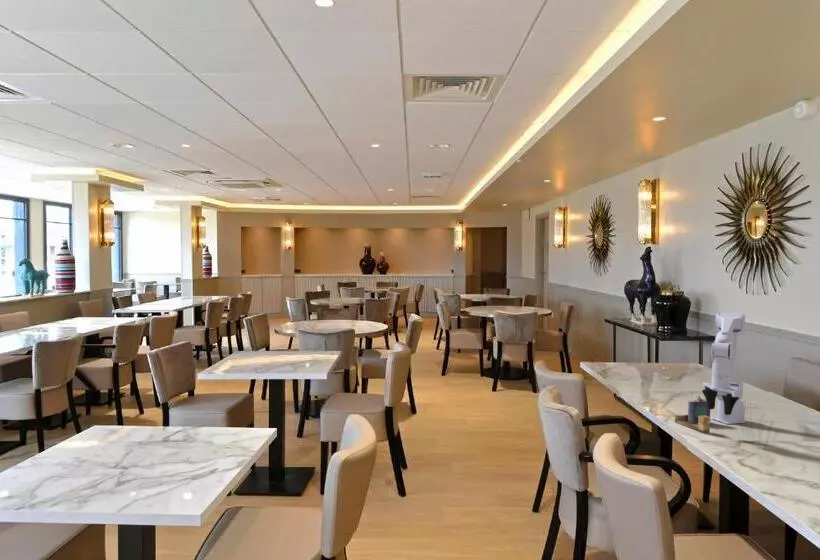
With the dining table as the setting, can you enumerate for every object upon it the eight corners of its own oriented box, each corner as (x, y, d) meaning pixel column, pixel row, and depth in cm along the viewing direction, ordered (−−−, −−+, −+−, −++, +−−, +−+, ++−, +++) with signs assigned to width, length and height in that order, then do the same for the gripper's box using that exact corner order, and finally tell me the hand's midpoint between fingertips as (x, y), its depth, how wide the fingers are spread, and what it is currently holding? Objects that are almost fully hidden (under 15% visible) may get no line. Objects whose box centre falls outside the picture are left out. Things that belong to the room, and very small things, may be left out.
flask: (689, 423, 222) (690, 397, 222) (685, 421, 225) (686, 395, 225) (711, 423, 224) (712, 396, 223) (706, 421, 226) (707, 395, 226)
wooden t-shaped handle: (698, 419, 228) (699, 405, 228) (729, 430, 213) (730, 415, 213) (674, 421, 225) (674, 407, 224) (703, 433, 210) (704, 417, 210)
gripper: (696, 371, 211) (695, 407, 212) (728, 379, 197) (726, 417, 198) (712, 370, 213) (710, 406, 214) (744, 378, 199) (742, 416, 200)
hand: (719, 411), depth 206 cm, fingers open, 7 cm apart
